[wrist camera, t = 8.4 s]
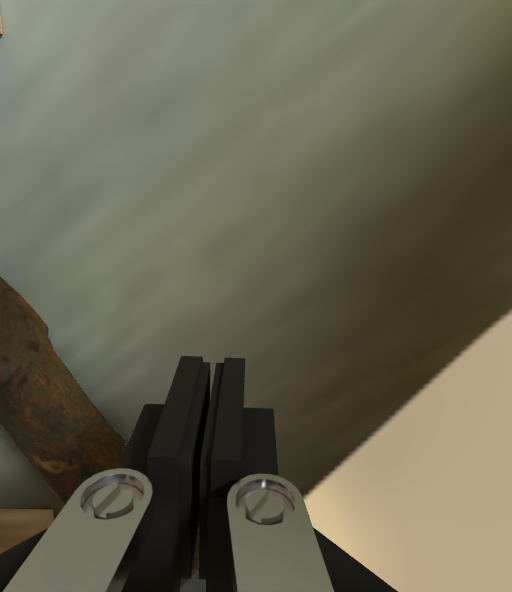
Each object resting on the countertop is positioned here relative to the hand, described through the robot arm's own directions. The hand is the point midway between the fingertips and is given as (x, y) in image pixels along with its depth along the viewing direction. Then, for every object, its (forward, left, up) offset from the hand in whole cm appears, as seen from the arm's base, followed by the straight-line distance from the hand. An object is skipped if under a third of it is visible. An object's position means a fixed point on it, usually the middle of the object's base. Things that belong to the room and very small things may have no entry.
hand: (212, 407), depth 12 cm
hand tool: (+7, +6, -9) cm, 13 cm away
